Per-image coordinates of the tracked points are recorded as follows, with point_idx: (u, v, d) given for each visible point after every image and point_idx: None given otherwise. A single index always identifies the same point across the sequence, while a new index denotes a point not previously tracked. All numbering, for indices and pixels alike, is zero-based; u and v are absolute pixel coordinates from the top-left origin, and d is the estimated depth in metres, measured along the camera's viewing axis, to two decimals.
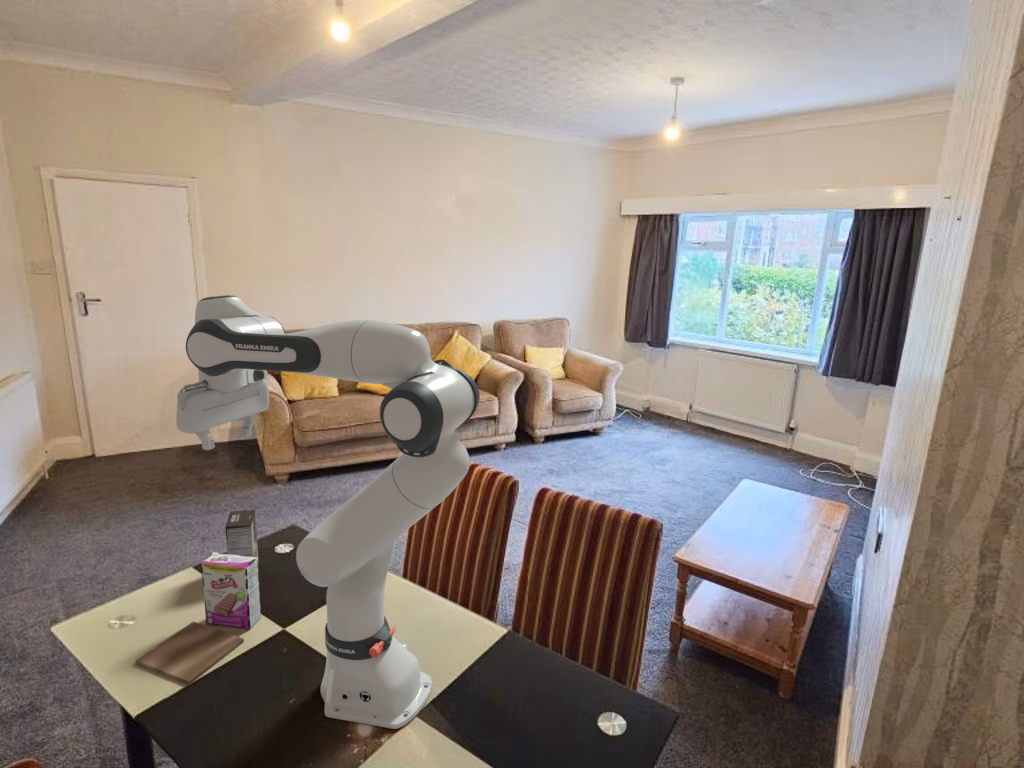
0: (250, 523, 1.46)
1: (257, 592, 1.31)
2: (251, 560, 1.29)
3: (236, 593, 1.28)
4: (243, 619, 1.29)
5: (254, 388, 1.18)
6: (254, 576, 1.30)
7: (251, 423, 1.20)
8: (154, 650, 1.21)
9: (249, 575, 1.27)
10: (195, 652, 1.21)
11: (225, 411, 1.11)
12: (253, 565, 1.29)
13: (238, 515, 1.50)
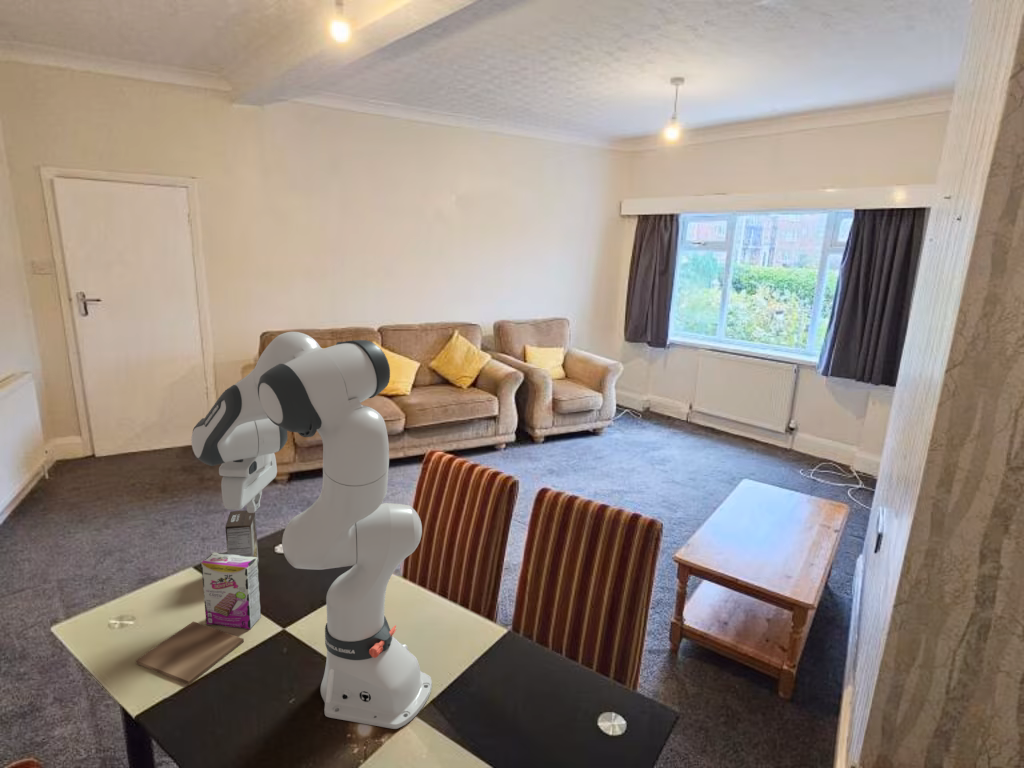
0: (250, 523, 1.46)
1: (257, 592, 1.31)
2: (251, 560, 1.29)
3: (236, 593, 1.28)
4: (243, 619, 1.29)
5: None
6: (254, 576, 1.30)
7: None
8: (154, 650, 1.21)
9: (249, 575, 1.27)
10: (195, 652, 1.21)
11: None
12: (253, 565, 1.29)
13: (238, 515, 1.50)
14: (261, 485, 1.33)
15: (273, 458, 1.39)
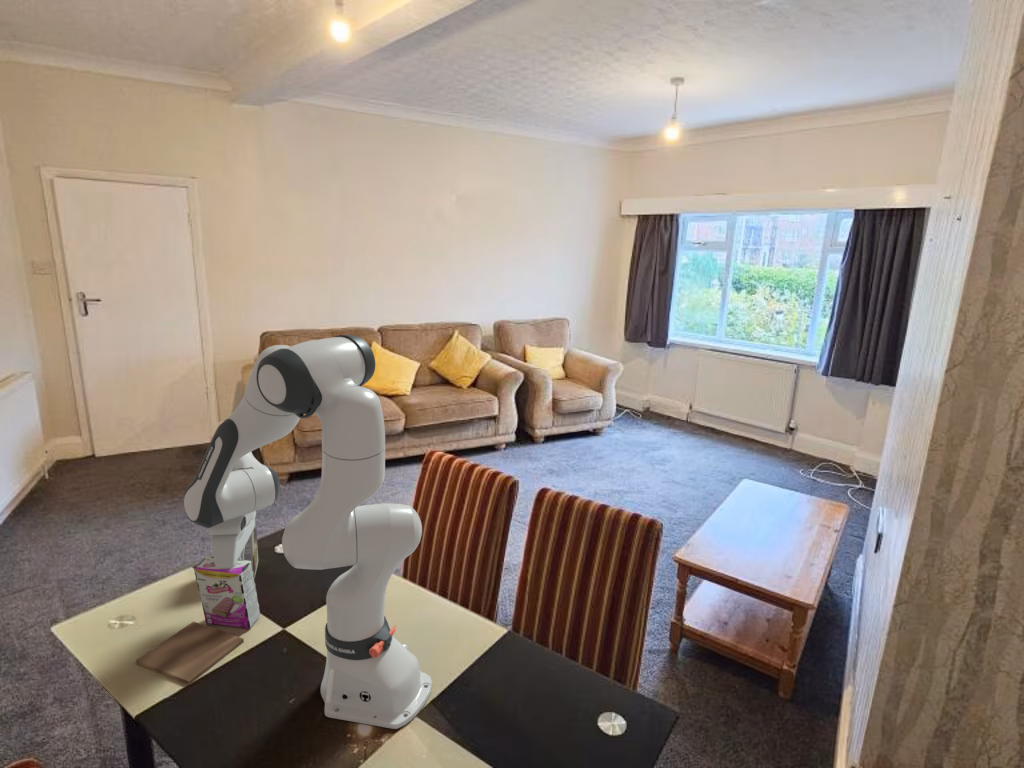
0: None
1: (254, 593, 1.30)
2: (245, 565, 1.26)
3: (232, 597, 1.26)
4: (242, 620, 1.29)
5: None
6: (249, 579, 1.28)
7: None
8: (154, 650, 1.21)
9: (243, 580, 1.25)
10: (195, 652, 1.21)
11: None
12: (247, 570, 1.26)
13: None
14: (246, 539, 1.31)
15: None
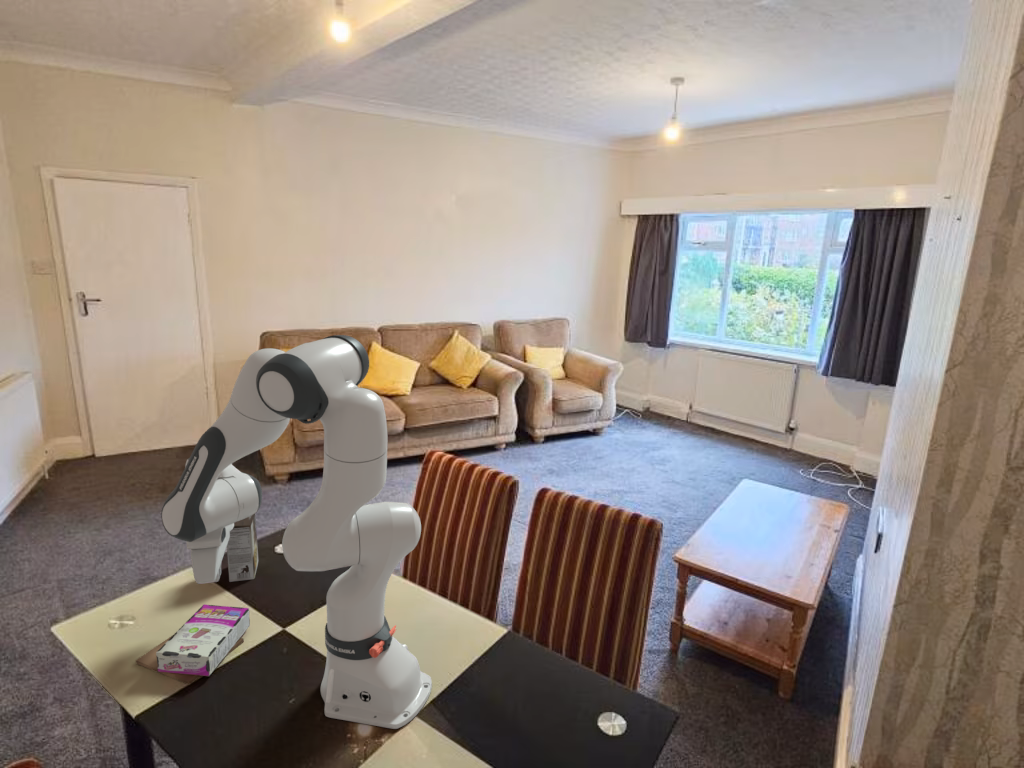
0: (250, 523, 1.46)
1: (231, 633, 1.22)
2: (205, 664, 1.13)
3: None
4: None
5: None
6: (219, 651, 1.17)
7: None
8: (154, 650, 1.21)
9: (216, 664, 1.16)
10: None
11: None
12: (211, 662, 1.14)
13: None
14: (223, 551, 1.26)
15: None
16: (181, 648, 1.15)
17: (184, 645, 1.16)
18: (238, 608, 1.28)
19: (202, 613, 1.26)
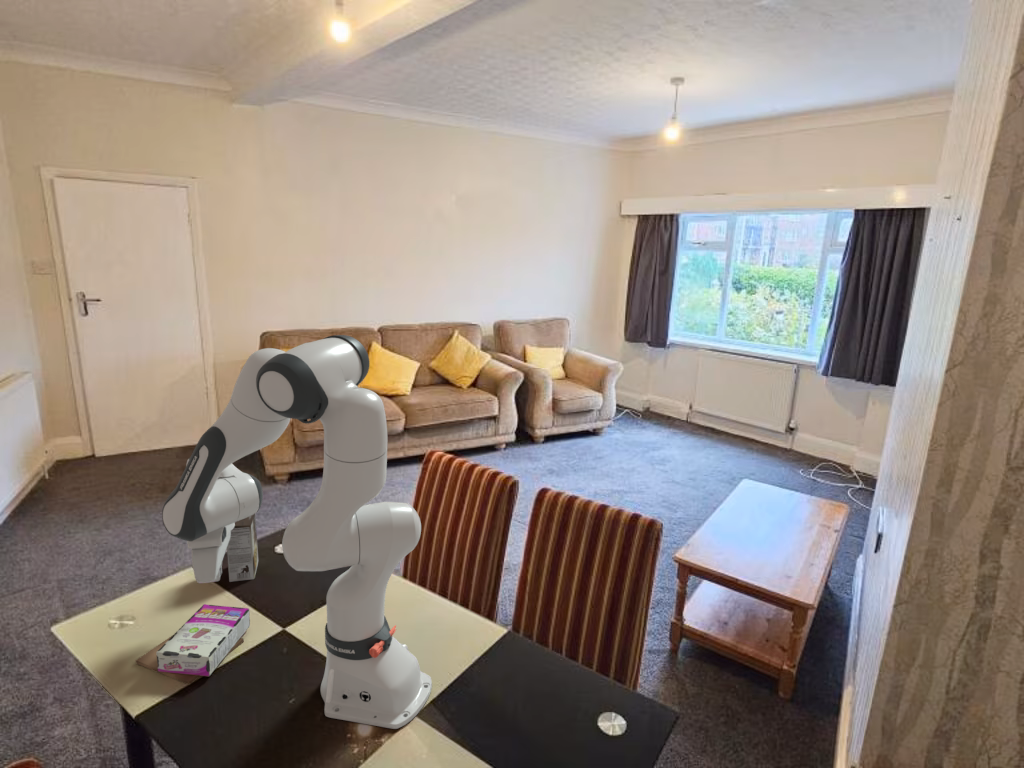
0: (250, 523, 1.46)
1: (231, 634, 1.22)
2: (205, 664, 1.13)
3: None
4: None
5: None
6: (219, 651, 1.17)
7: None
8: (154, 650, 1.21)
9: (216, 665, 1.16)
10: None
11: None
12: (211, 662, 1.14)
13: None
14: (224, 550, 1.26)
15: None
16: (181, 648, 1.15)
17: (184, 645, 1.16)
18: (239, 608, 1.28)
19: (202, 613, 1.26)
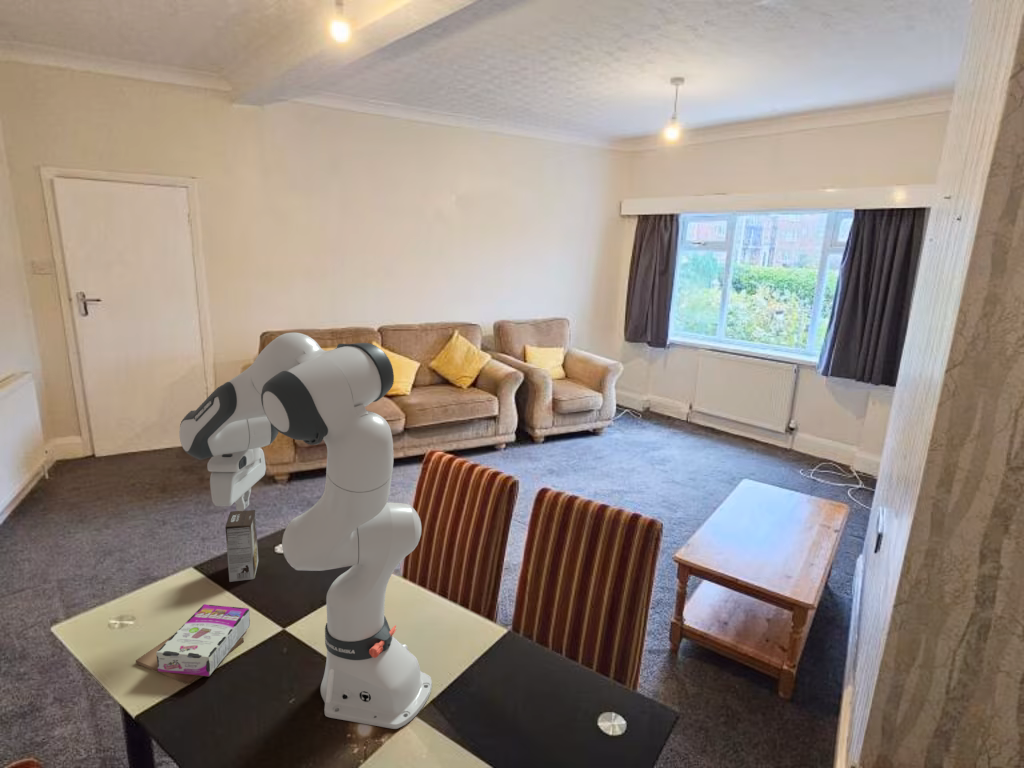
0: (250, 523, 1.46)
1: (231, 634, 1.22)
2: (205, 664, 1.13)
3: None
4: None
5: None
6: (219, 651, 1.17)
7: None
8: (154, 650, 1.21)
9: (216, 665, 1.16)
10: None
11: None
12: (211, 662, 1.14)
13: (238, 515, 1.50)
14: (250, 482, 1.30)
15: (262, 455, 1.36)
16: (181, 648, 1.15)
17: (184, 645, 1.16)
18: (239, 608, 1.28)
19: (202, 613, 1.26)
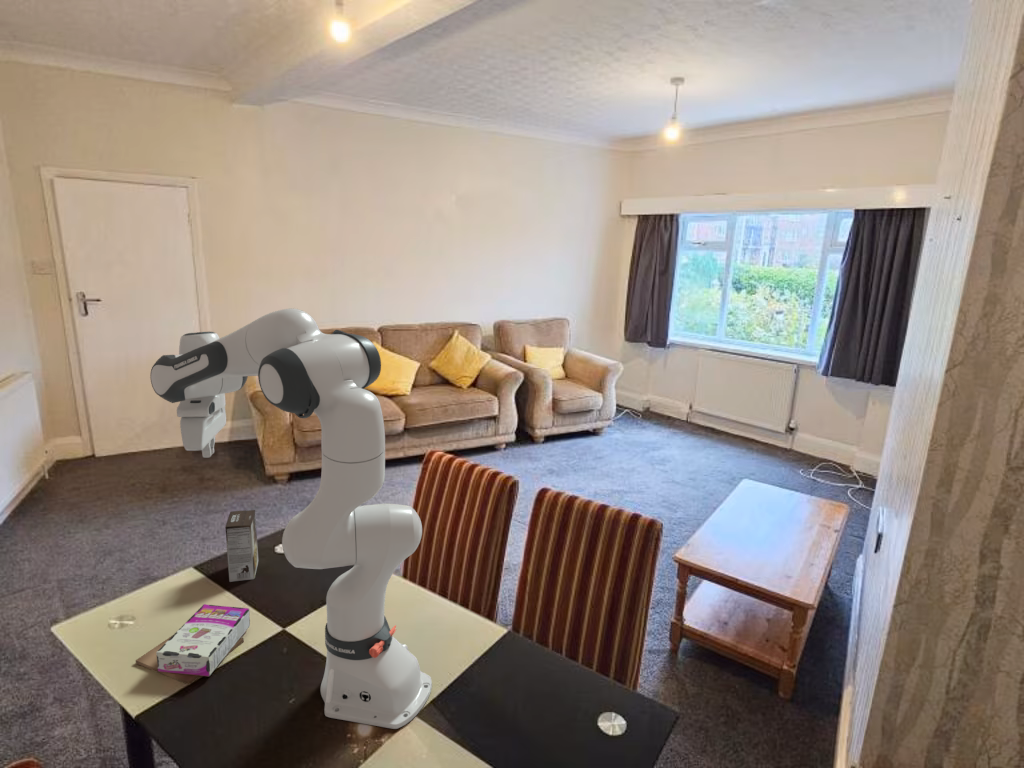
0: (250, 523, 1.46)
1: (231, 634, 1.22)
2: (205, 664, 1.13)
3: None
4: None
5: None
6: (219, 651, 1.17)
7: None
8: (154, 650, 1.21)
9: (216, 665, 1.16)
10: None
11: None
12: (211, 662, 1.14)
13: (238, 515, 1.50)
14: (215, 430, 1.34)
15: None
16: (181, 648, 1.15)
17: (184, 645, 1.16)
18: (239, 608, 1.28)
19: (202, 613, 1.26)
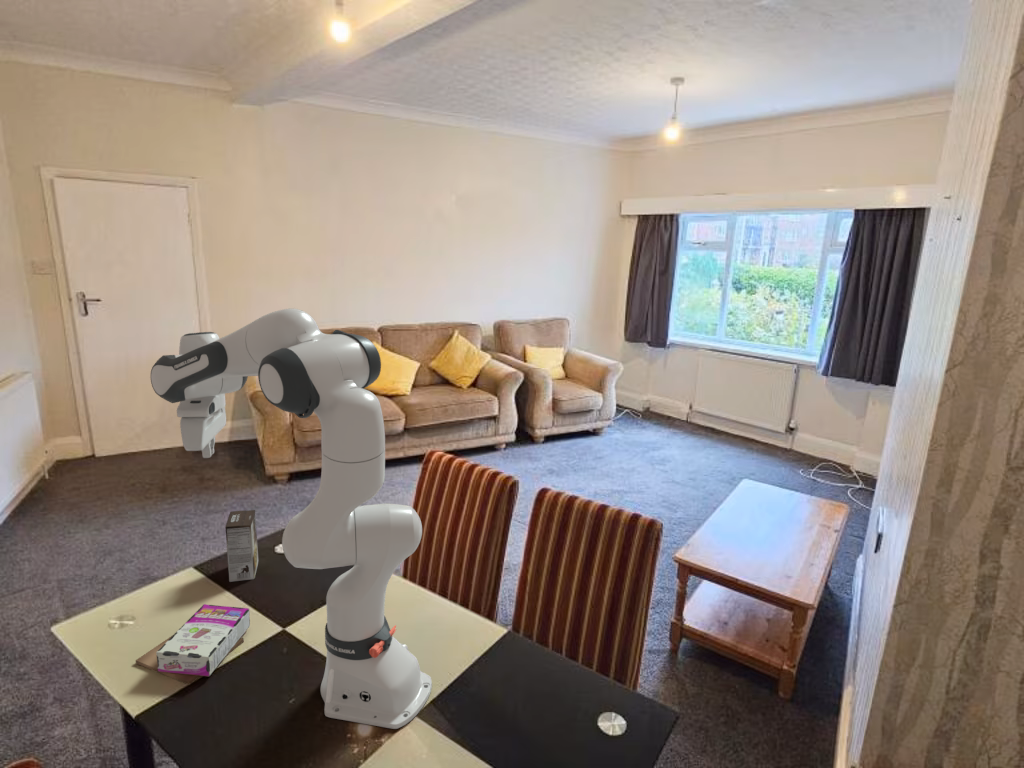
0: (250, 523, 1.46)
1: (231, 634, 1.22)
2: (205, 664, 1.13)
3: None
4: None
5: None
6: (219, 651, 1.17)
7: None
8: (154, 650, 1.21)
9: (216, 665, 1.16)
10: None
11: None
12: (211, 662, 1.14)
13: (238, 515, 1.50)
14: (215, 430, 1.34)
15: None
16: (181, 648, 1.15)
17: (184, 645, 1.16)
18: (239, 608, 1.28)
19: (202, 613, 1.26)
